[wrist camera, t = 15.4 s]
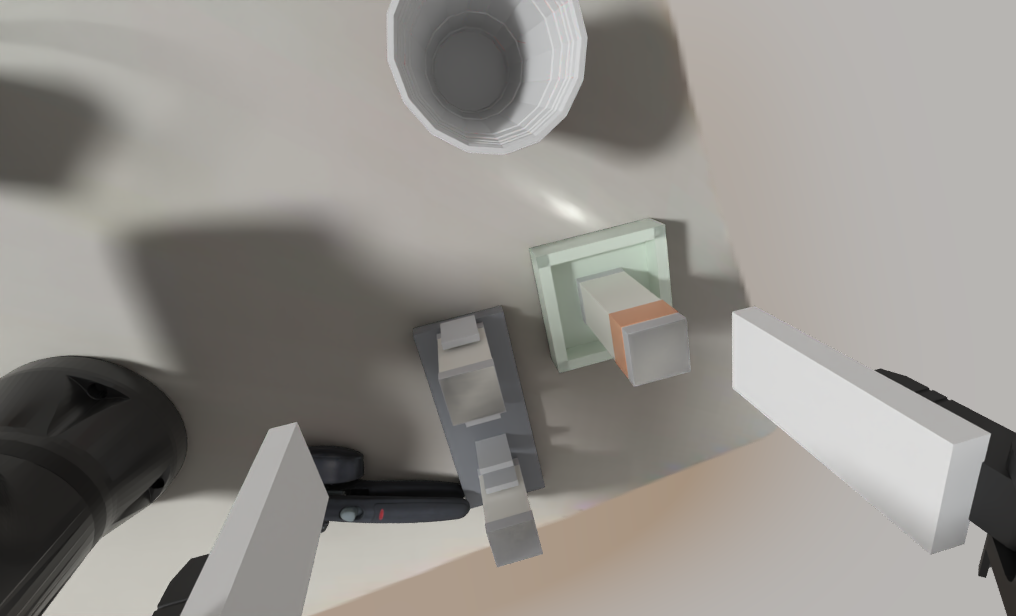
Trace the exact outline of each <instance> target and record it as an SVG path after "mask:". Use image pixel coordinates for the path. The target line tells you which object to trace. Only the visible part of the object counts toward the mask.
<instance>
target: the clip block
mask: <svg viewBox="0 0 1016 616" xmlns="http://www.w3.org/2000/svg"><path fill="white" fill-rule="evenodd" d="M481 322H483V325H484V329H485V333H486V337H487V340H488V344H489V348H490V352H491V356H492V358H493V362H494V365H495V369H496V373H497V377H498V381H499V385H500V389H501V393H502V397H503V400H504V404H505V408H506V412H504V413H500V414H496V415H493V416H489V417H485V418H482V419H478V420H474V421H471V422H467V423H463V424H460V425H456V426H453V425H452V422H451V418H450V415H449V412H448V409H447V406H446V402H445V399H444V396H443V393H442V390H441V386H440V383H439V380H438V373H439V363H438V341H437V334H439V333H441V344H442V347H443V350H446V349H449V348H453V347H457V346H461V345H465V344H468V343H472V342H476V341H480V336H479V332H478V328H477V323H481ZM413 337H414V340H415V343H416V346H417V349H418V353H419V356H420V359H421V362H422V365H423V368H424V371H425V374H426V377H427V380H428V383H429V387H430V390H431V393H432V396H433V399H434V402H435V405H436V408H437V411H438V414H439V417H440V421H441V424H442V427H443V430H444V433H445V436H446V439H447V442H448V445H449V448H450V451H451V455H452V458H453V461H454V464H455V467H456V470H457V473H458V476H459V479H460V482H461V486H462V489H463V492H464V495H465V498H466V500H467V501H468V502H469V503H470V509H471V508H474V507H478V506H481V505H483V501H482V494H481V487H480V480H479V477H478V471H477V469H479V470H480V474H481V475H482V474H483V479H484V485H485V490H486V494H490V493H493V492H497V491H500V490H504V489H508V488H511V487H515V486H518V485H519V484H518V480H517V476H516V472H515V468H514V464H513V460H512V459H514V458H518V461H519V464H520V468H521V472H522V476H523V480H524V484H525V488H526V492H530V491H534V490H537V489H541V488H544V487H545V485H544V481H543V476H542V472H541V468H540V464H539V460H538V455H537V451H536V447H535V443H534V439H533V434H532V430H531V426H530V422H529V418H528V413H527V409H526V405H525V401H524V396H523V392H522V388H521V384H520V380H519V375H518V371H517V367H516V363H515V359H514V354H513V350H512V346H511V342H510V338H509V333H508V329H507V325H506V321H505V317H504V312H503V310H502V307H501V306H497V307H494V308H490V309H486V310H482V311H478V312H474V313H470V314H467V315H463V316H459V317H455V318H451V319H447V320H443V321H440V322H436V323H432V324H428V325H424V326H420V327H417V328H413Z"/></svg>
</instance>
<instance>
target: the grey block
mask: <svg viewBox="0 0 1016 616" xmlns="http://www.w3.org/2000/svg"><path fill="white" fill-rule="evenodd" d="M512 460H513V464H514V468H515V472H516V476H517V480H518V484H519V485H518V486H515V487H511V488H508V489H504V490H500V491H497V492H493V493H490V494H486V490H485V485H484V479H483V474H482V475H481V474H480V470H479V469H477V471H478V477H479V480H480V487H481V494H482V501H483V508H484V515H485V522H486V523H485V527H486V533H487V537H488V540H489V543H490V546H491V549H492V552H493V555H494V559H495V562H496V565H497V567H500V566H503V565H506V564H510V563H514V562H517V561H520V560H524V559H527V558H531V557H534V556H537V555H540V554H543V552H542V548H541V544H540V540H539V537H538V532H537V529H536V525H535V521H534V517H533V513H532V510H531V508H530V504H529V500H528V497H527V496H528V495H527V492H526V488H525V484H524V480H523V476H522V472H521V468H520V464H519V461H518V458H514V459H512Z"/></svg>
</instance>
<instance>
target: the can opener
mask: <svg viewBox="0 0 1016 616" xmlns="http://www.w3.org/2000/svg"><path fill="white" fill-rule="evenodd" d="M308 449H309V451H310V454H311V456H312V458H313V461H314V463H315V465H316V468H317V470H318V472H319V475H320V477H321V480H322V482H323V484H324V487H325V489H326V491H327V494H328V496H329V498H328V503H327V507H326V511H325V516H324V520H323V524H322V529H321V533H322V532H324V531H325V530H326V528H327V526H328V524H329V521H338V522H355V523H418V522H434V521H445V520H454V519H460V518H463V517H464V516H466V514H467V513H468V512H469V510H470V503H469V502H468V501H467V500H466V499H463V498H464V496H465V495H464V492H463V489H462V486H461V485H459V484H456V483H449V482H440V481H419V480H418V481H416V480H411V481H407V480H406V481H367V480H359V478H361V477H362V476H363V475H364V462H363V455H362V454H361V453H360V452H358V451H355V450H352V449H348V448H343V447H333V446H313V447H308Z"/></svg>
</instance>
